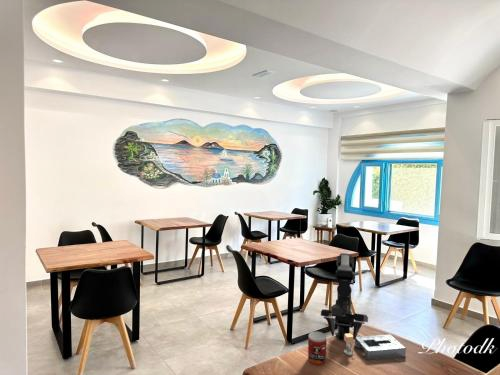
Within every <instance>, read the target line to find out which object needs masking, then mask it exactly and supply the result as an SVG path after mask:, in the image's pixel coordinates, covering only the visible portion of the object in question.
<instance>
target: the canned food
mask: <svg viewBox="0 0 500 375" xmlns="http://www.w3.org/2000/svg"><path fill="white" fill-rule="evenodd" d="M307 340H308V341H307V360H308V362H309V363H310V364H312V365H315V366H322V365H324V364H325V363H326V362H327V361H326V360H327V335H326V334H325V333H323V332H321V331H311V332H309V333H308V339H307Z"/></svg>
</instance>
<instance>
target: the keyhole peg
mask: <svg viewBox="0 0 500 375" xmlns="http://www.w3.org/2000/svg"><path fill="white" fill-rule="evenodd" d="M343 341H345V343H346V346H345V348H344V350H343V354H344V355H345V356H348V357H351V356H353V355H354V350H352V344H354V342H355V340H353V334H352V333H348V334H344V340H343Z"/></svg>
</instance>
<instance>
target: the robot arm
mask: <svg viewBox="0 0 500 375" xmlns="http://www.w3.org/2000/svg"><path fill="white" fill-rule="evenodd" d="M354 259H355V258H354V257H353V256H352V255H351V253H345V252H342V253H340V254H339V255H337V256H336V266H337V270H335V280H334V283H335V284H338V285H337V287H336V292H337V294H336V295H337V298H336V299H335V304H333V305H331V307H330V309H326V308H325V309H321V311H320V316H321V317H323V319H325V320H326V321H327V324H328V327H329V330H330V334H331V336H332V337H333V336H335V337H336V338H337V339H338V340H339V341H344V334H348V333H350V332H351V331H350V330H351V329H350V328H352V329H353V332H352V333H353V334H352V335H353V340H354V341H355V339H356V337H358V333H359V331H360V329H361V328H362V326H363V325H364V324H365V323H368V322H369V316H368V315H367V314H363V313H355V312H354V314H353V312H352V305H353V301H352V290H353V289H352V287H351V285H352V286H353V285H354V284H356V274H355V272H354V271H353V268H354V266H355V262H354V261H355V260H354ZM336 326H337V332H335V328H336Z"/></svg>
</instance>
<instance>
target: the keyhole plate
mask: <svg viewBox="0 0 500 375" xmlns="http://www.w3.org/2000/svg"><path fill="white" fill-rule="evenodd" d="M354 347H356V349H357V350H358V349H363V350H364V352H363V354H364V355H363V357H365V359H366V360H367V361H373V360H382V359H383V360H385V359H386V360H387V359H394V358H395V359H396V358H405V357H406V353H407V352H406V350H407V347H405V346H404V344H402V343H401V342H400V341H398V340H397V339H396V338H395V337H394V336H393V335H392V334H376V335H365V336H356V339H355V340H354Z"/></svg>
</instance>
